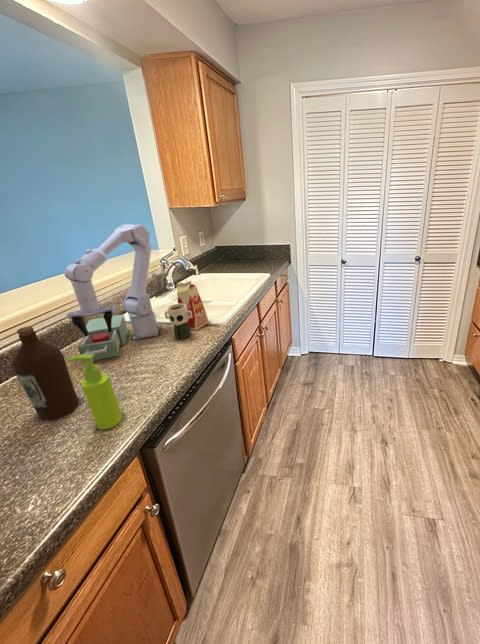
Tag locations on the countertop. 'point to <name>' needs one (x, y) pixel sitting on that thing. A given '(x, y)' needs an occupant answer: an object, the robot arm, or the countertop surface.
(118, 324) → the green box
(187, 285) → the milk carton
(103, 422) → the soap dispenser
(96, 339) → the red cube
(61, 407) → the olive oil
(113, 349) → the drawer
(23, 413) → the countertop surface
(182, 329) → the character mug
